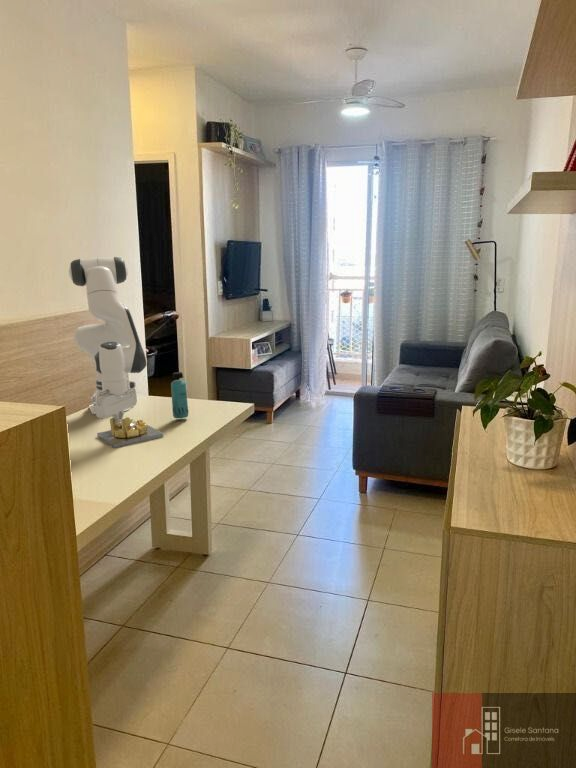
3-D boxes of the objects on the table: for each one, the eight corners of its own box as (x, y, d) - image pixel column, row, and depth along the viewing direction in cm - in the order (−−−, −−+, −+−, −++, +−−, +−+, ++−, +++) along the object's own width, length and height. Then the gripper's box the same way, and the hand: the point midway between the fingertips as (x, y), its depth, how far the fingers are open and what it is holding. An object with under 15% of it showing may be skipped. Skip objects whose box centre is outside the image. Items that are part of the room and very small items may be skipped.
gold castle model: (97, 436, 215) (95, 424, 214) (144, 426, 226) (143, 414, 225) (113, 448, 201) (112, 434, 200) (163, 437, 212) (162, 424, 211)
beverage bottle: (170, 421, 232) (166, 373, 228) (178, 417, 238) (174, 370, 234) (184, 422, 230) (180, 374, 225) (192, 418, 236) (188, 371, 232)
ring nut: (124, 426, 221) (122, 409, 219) (152, 428, 217) (151, 410, 215) (104, 436, 209) (102, 418, 207) (134, 438, 205) (132, 420, 203)
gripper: (104, 394, 195) (108, 432, 198) (138, 381, 214) (141, 416, 217) (89, 393, 197) (93, 431, 200) (123, 381, 216) (127, 415, 219)
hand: (118, 423), depth 208 cm, fingers closed, pressing on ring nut
